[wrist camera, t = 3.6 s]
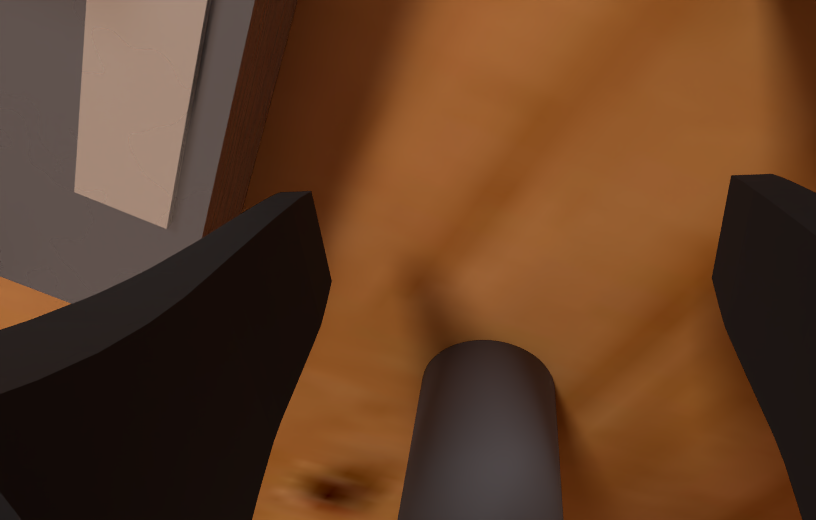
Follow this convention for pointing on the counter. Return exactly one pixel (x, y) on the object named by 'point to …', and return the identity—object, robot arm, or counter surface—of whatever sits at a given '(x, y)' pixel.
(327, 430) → the counter surface
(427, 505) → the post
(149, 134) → the panel
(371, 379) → the counter surface
